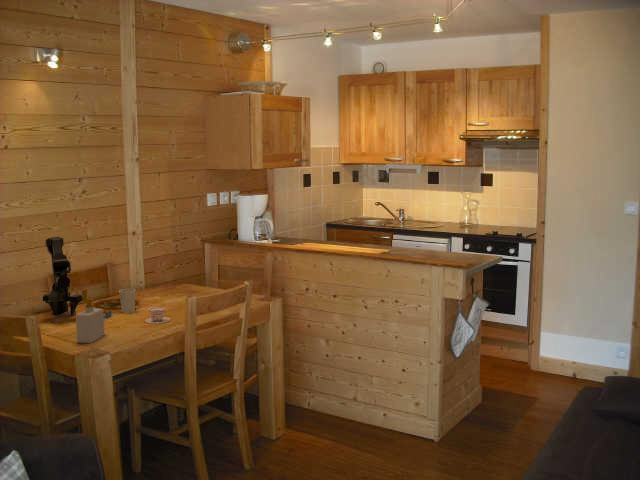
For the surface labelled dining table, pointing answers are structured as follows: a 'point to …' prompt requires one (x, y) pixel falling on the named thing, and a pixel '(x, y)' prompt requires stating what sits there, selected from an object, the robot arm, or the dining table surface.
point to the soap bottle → (89, 322)
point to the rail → (62, 317)
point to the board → (109, 317)
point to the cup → (127, 300)
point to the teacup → (157, 315)
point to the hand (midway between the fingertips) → (63, 315)
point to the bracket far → (107, 314)
